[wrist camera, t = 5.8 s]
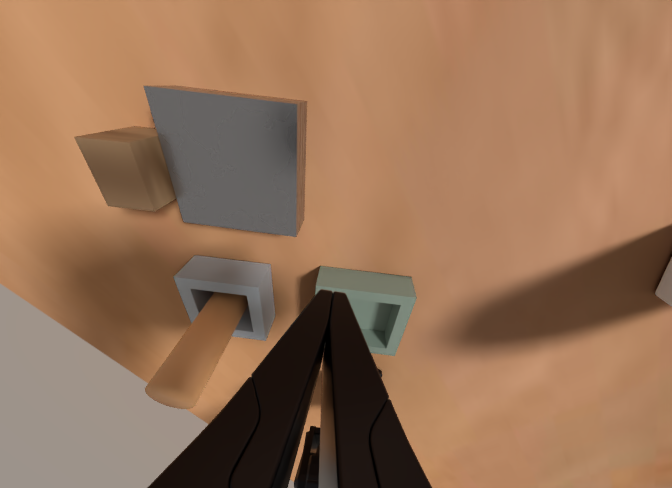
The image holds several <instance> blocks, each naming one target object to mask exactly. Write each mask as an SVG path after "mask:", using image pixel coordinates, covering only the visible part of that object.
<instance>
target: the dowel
mask: <svg viewBox="0 0 672 488" xmlns="http://www.w3.org/2000/svg"><path fill="white" fill-rule="evenodd" d="M247 306H248V300H247V296H245V295H237V294H229V293H221V292H214V293H213V295H212V296H211V297H210V299H209V300H208V302H207V303H206V304H205V306H204V307H203V309H202V310H201V311H200V313H199V314H198V315H197V317H196V318H195V320H194V321H193V322H192V324H191V325H190V327H189V328H188V329H187V331H186V332H185V334H184V335H183V336H182V338H181V339H180V341H179V342H178V343H177V345H176V346H175V347H174V349H173V350H172V352H171V353H170V354H169V356H168V357H167V359H166V360H165V361H164V363H163V364H162V366H161V367H160V368H159V370H158V371H157V373H156V374H155V375H154V377H153V378H152V379H151V381H150V382H149V384H148V385H147V386H146V388H145V391H146V393H147V395H148V396H149V397H151V398H152V399H153V400H155V401H157V402H159V403H161V404H164V405H166V406H170V407H174V408H180V409H189V408H193V407H194V406H195V405H196V403H197V401H198V400H199V398H200V396H201V394H202V392H203V390H204V388H205V386H206V384H207V382H208V380H209V378H210V377H211V375H212V373H213V371H214V369H215V367H216V365H217V363H218V361H219V359H220V357H221V356H222V354H223V352H224V350H225V348H226V346H227V344H228V342H229V340H230V338H231V336H232V334H233V333H234V331H235V329H236V327H237V325H238V323H239V321H240V319H241V317H242V315H243V313H244V312H245V310H246V308H247Z"/></svg>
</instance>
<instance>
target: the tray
mask: <svg viewBox="0 0 672 488" xmlns="http://www.w3.org/2000/svg"><path fill="white" fill-rule="evenodd" d="M321 289H324V290H331V291H332V292H334V291H337V292H343V293H346V295H347V297H348V299H349V302H350V304H351V307H352V309H353V311H354V314H355V316H356V319H357V321H358V323H359V326H360V328H361V331H362V333H363V335H364V338H365V340H366V343H367V345H368V347H369V350H370V352H371V353H376V354H384V355H391V356H395V354H396V351H397V349H398V346H399V343H400V341H401V338H402V335H403V333H404V330H405V327H406V325H407V322H408V320H409V317H410V314H411V312H412V309H413V306H414V304H415V301H416V298H417V297H416V293H415V290H414V286H413V282H412V278H411V277H408V276H400V275H391V274H383V273H375V272H366V271H358V270H350V269H342V268H333V267H325V266H320V270H319V274H318V278H317V283H316V292H315V295H316V294H317V293H318V291H319V290H321ZM324 347H325V346H324Z"/></svg>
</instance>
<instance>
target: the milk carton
mask: <svg viewBox="0 0 672 488" xmlns="http://www.w3.org/2000/svg"><path fill="white" fill-rule="evenodd" d="M655 295H656V296H658V297H659V298H660V299H662V300H663V301H664V302H666V303H667V304H669V305H670V306H671V307H672V257H671V259H670V262H669V264H668V266H667V268H666V270H665V272H664V275H663V277H662V279H661V281H660V283H659V285H658V288H657V290H656V292H655Z"/></svg>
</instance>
